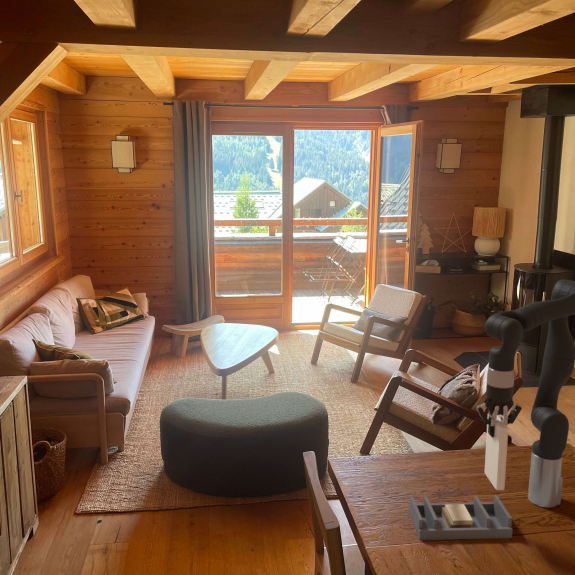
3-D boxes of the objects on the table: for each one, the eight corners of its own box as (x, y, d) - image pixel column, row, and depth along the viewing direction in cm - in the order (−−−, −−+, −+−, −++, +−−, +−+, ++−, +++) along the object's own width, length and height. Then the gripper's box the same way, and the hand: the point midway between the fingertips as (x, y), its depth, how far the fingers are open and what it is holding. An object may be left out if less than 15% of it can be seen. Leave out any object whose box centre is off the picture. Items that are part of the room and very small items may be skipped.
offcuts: (462, 514, 185) (463, 502, 184) (473, 534, 175) (474, 521, 174) (441, 515, 185) (441, 502, 184) (450, 534, 175) (451, 521, 174)
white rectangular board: (492, 472, 182) (495, 413, 177) (504, 489, 172) (508, 427, 168) (484, 472, 182) (487, 413, 177) (496, 490, 172) (500, 428, 168)
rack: (494, 513, 187) (495, 493, 186) (511, 540, 173) (513, 520, 172) (408, 514, 187) (409, 495, 185) (419, 542, 173) (420, 522, 171)
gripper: (518, 376, 174) (514, 429, 177) (472, 378, 174) (469, 430, 177) (529, 386, 166) (524, 441, 170) (481, 387, 166) (478, 442, 170)
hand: (496, 435), depth 174 cm, fingers closed on white rectangular board, 2 cm apart
